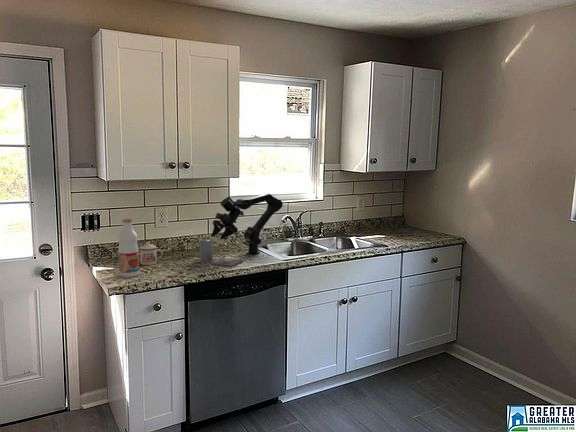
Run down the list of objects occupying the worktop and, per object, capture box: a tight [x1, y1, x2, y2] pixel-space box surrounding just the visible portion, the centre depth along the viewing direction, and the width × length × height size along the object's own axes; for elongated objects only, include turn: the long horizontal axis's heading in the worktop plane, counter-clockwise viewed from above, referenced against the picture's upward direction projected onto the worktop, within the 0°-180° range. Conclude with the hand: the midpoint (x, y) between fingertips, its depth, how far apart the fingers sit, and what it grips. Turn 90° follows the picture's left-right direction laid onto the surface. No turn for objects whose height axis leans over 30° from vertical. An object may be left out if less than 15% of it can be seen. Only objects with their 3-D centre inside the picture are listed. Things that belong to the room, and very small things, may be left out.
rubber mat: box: [210, 256, 244, 268], centre depth 263 cm, size 13×13×3 cm
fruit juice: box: [117, 218, 140, 278], centre depth 235 cm, size 9×9×28 cm
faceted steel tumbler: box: [198, 238, 214, 264], centre depth 266 cm, size 7×7×12 cm
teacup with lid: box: [139, 242, 163, 266], centre depth 261 cm, size 12×9×12 cm
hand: (216, 237), depth 270 cm, fingers open, 9 cm apart
